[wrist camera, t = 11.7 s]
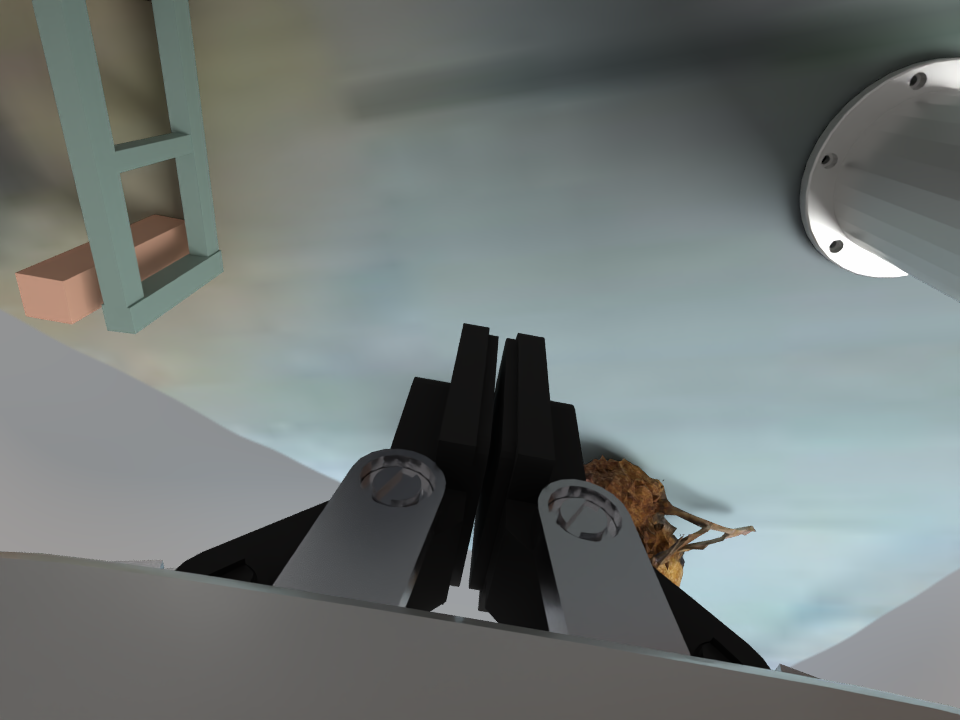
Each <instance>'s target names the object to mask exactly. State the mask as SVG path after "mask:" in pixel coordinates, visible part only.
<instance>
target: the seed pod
mask: <svg viewBox="0 0 960 720" xmlns="http://www.w3.org/2000/svg"><path fill="white" fill-rule="evenodd" d="M584 470H585V476H586V481H587V482H590V483H592V484H595V485H597V486H600V487H602V488H604V489H605V490H607V491H608V492H610V493H612V494H613V495H614V496H615V497H616V498H618V499H619V500H620V501H621V502H622V503H623V504H624V506H625V507H626V509H627V511H628V512H629V514H630V516H631V518H632V520H633V523H634V525H635V527H636V530H637V532H638V534H639V537H640V539H641V541H642V544H643V546H644V548H645V551H646V553H647V555H648V557H649V560H650V562H651V564H652V566H653V567H655V568H656V569H657V570H658V571H659V572H661V573H662V574H663V575H664V576H666V577H667V578H668V579H669V580H670V581H672V582H673V583H674V584H675V585H677V586H678V587H679V586H680V582H681V579H682V576H683V566H684V563H685V561H684V559H683V557H682V556H683V554H684V552H685V551H689V550H692V549H700V550H703V549H704V548H706V547H707V546H708V545H709V544H713V543H716V542H720V541H723V540H724V539H727V538H731V537H735V536H739V535H740V534H743V535H746V534H748V533H750V532H751V531H755V529H754V528H753V526H747V527H742V528H736V529H731V528H726V527H722V526H720V525H717V524H715V523H712V522H709V521H707V520H704V519H702V518H699V517H697V516H694V515H691V514H689V513H687V512H685V511H683V510H680V509H678V508H676V507H674V506H672V505H671V503H670V502H669V501H668V500H667V497H666V493H665V489H664V486H663V485H662V483H661V482H660V481H659V480H658V479H652V478H650V477H649V476H648V475H647V474H646V473H645V472H644V471H642V470H641V469H640V468H639V467H638V466H635V465H633V464H631V463H630V462H628V461H627V460H626V459H624V458H623V460H622V461H615V460H613V459H609V460H608V461H607V460H606V459H605V458H604V456H603V455H602V456H601V458H600V460H598V459H594V460H593V461H591V462H590V463H588V464H585V465H584ZM663 481H664V480H663ZM664 515H677V516H679V517H681V518H683V519H685V520H687V521H689V522H691V523H693V524H695V525H697V526H699V527H702V529H700V530H699V531H698V532H696V533H693V534H689V535H688V536H687V537H685V538H683V536H684V534H683V536H682V537H681V538H680V539H677V538H676V537H675V536H674V535H672V534H673V533H674V532H675V530H676V529H677V528H676V527H674V526H672V525H671V524H670V523H669V522H668V521H667V520H666V519H665V518H664ZM710 529H712V530H716V531H721V532H725V533H724V535H723V536H722V537H720V538H716V539H713V540H708V541H702V542H697V543H692V544H688V543H689V542H691V541H693V540H694V539H696V538H697V537H699V536H700V535H702V534H704V533H706V532H708V531H709V530H710ZM680 536H681V534H680ZM686 544H687V545H686Z"/></svg>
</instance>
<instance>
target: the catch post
mask: <svg viewBox="0 0 960 720" xmlns="http://www.w3.org/2000/svg"><path fill="white" fill-rule="evenodd" d="M130 228H131V233H132V238H133V243H134V248H135V253H136V258H137V263H138V268H139V273H140V279H141V281H143V280H145V279H146V278H148V277H150V276H151V275H153V274H155V273H157V272H158V271H160V270H162V269H163V268H165V267H167V266H169V265H170V264H172V263H174V262H175V261H177V260H179V259H181V258H182V257H184V256H186V255H187V254H189V246H188V240H187V233H186V226H185V220H182V219H176V218H171V217H166V216H160V215H155V214H154V215H152V216H149V217H147V218H145V219H142V220H140V221H138V222H135V223H133V224H130ZM15 274H16V278H17V282H18V286H19V290H20V294H21V298H22V302H23V306H24V310H25V314H26V316H28V317H34V318H40V319H45V320H51V321H57V322H62V323H68V324H74V323H75V322H77V321H79V320H80V319H82V318H84V317H85V316H87V315H89V314H90V313H92V312H94V311H96V310H97V309H99V308H101V307H102V304H103V303H104V302H103V298H102V294H101V289H100V285H99V281H98V277H97V273H96V268H95V264H94V260H93V256H92V252H91V247H90V243H89V242H88V243H85V244H83V245H80V246H78V247H76V248H73V249H71V250H69V251H66V252H64V253H61V254H59V255H57V256H54V257H52V258H50V259H47V260H45V261H42V262H40V263H38V264H35V265H33V266H30V267H28V268H26V269H23V270H21V271H19V272H16V273H15Z"/></svg>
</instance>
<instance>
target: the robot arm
mask: <svg viewBox="0 0 960 720" xmlns="http://www.w3.org/2000/svg"><path fill="white" fill-rule="evenodd" d="M911 78H912V82H911V83H910V79H911ZM909 83H910V84H909ZM825 156H826V160H825V161H824V162H823V163H822V159H823V158H824V157H825ZM800 210H801V219H802V222H803V225H804V228H805V231H806V234H807V236H808V237H809V239H810V240H811V242H812V244H813V245H814V247H815V248H816V249H817V250H818V251H819V252H820V253H821V254H822V255H823V256H824V257H825V258H827V259H828V260H829V261H831V262H833V263H834V264H836V265H837V266H839V267H840V268H842V269H845V270H847V271H850V272H852V273H854V274H857V275H862V276H868V277H873V278H895V277H901V276H907V275H911V276H912V277H914V278H916V279H918V280H920V281H921V282H923V283H925V284H927V285H929V286H931V287H932V288H934V289H936V290H938V291H940V292H941V293H943V294H945V295H947V296H949V297H951V298H952V299H954V300H956V301H958V302H960V58H938V59H933V60H928V61H924V62H919V63H915V64H912V65H909V66H907V67H904V68H902V69H899V70H897V71H894V72H892V73H890V74H888V75H886V76H885V77H883V78H881V79H880V80H878V81H876V82H875V83H873V84H871V85H870V86H868V87H867V88H866V89H864V90H863V91H862V92H861V93H859V94H858V95H857V96H856V97H854V98H853V99H852V100H851V101H849V102H848V103H847V104H846V105H845V107H844V108H843V109H842V110H841V111H840V112H839V113H838V114H837V115H836V116H835V117H834V118H833V119H832V121H831V122H830V123H829V125H828V126H827V128H826V129H825V130H824V132H823V133H822V135H821V136H820V138H819V139H818V141H817V143H816V145H815V147H814V149H813V151H812V153H811V155H810V157H809V159H808V161H807V165H806V168H805V171H804V175H803V178H802V182H801V191H800ZM832 242H833V243H832ZM831 243H832V244H831ZM830 244H831V245H830ZM829 245H830V246H829ZM498 339H499V336H493V335H489V328H488V327H482V326H477V325H471V324H466V323H464V324H463V329H462V333H461V338H460V343H459V347H458V352H457V357H456V361H455V366H454V371H453V375H452V380H451V383H448V382H442V381H437V380H431V379H425V378H420V377H415V378H414V380H413V383H412V386H411V389H410V392H409V395H408V398H407V401H406V404H405V407H404V410H403V413H402V416H401V419H400V422H399V425H398V428H397V431H396V434H395V437H394V440H393V443H392V446H391V449H383V450H379V451H375V452H371V453H370V454H368V455H366V456H364V457H362V458H360V459H359V460H358V461H357V462H356V463H355V464H354V465H353V466H352V468H351V469H350V471H349V472H348V474H347V475H346V477H345V478H344V480H343V481H342V483H341V484H340V486H339V487H338V489H337V490H336V492H335V493H334V495H333V496H332V498H331V499H330V500H329V501H326V502H324V503H322V504H319V505H317V506H314V507H312V508H310V509H307V510H304V511H302V512H299V513H297V514H295V515H292V516H290V517H287V518H285V519H282V520H280V521H277V522H275V523H272V524H270V525H268V526H265V527H263V528H260V529H258V530H255V531H253V532H250V533H248V534H246V535H243V536H241V537H238V538H236V539H233V540H231V541H228V542H226V543H224V544H221V545H219V546H216V547H214V548H211V549H209V550H206V551H204V552H202V553H200V554H198V555H196V556H194V557H192V558H190V559H189V560H187V561H185V562H184V563H183V564H181V565H180V566H179V567H178V568H167V569H164V565H163V560H147V561H145V560H144V561H103V560H94V559H85V558H77V557H68V556H60V555H52V554H43V553H23V552H0V720H960V709H959V708H956V707H952V706H949V705H945V704H940V703H935V702H931V701H926V700H921V699H917V698H912V697H907V696H903V695H898V694H893V693H889V692H884V691H880V690H875V689H870V688H865V687H860V686H855V685H850V684H845V683H838V682H833V681H828V680H822V679H819V678H816V677H814V676H811V675H809V674H806V673H803V672H800V671H798V670H795V669H793V668H790V667H787V666H785V665H782V664H779V666H778V667H777V668H776V670H771V669H770V668H769V666H768V665H767V663H766V662H765V661H764V659H763V658H762V657H761V656H760V655H759V654H758V653H757V652H756V651H755V650H754V649H753V648H752V647H751V646H750V645H749V644H748V643H746V642H745V641H744V640H743V639H741V638H740V637H739V636H738V635H737V634H735V633H734V632H733V631H732V630H730V629H729V628H728V627H727V626H726V625H724V624H723V623H722V622H721V621H719V620H718V619H717V618H716V617H715V616H713V615H712V614H711V613H710V612H708V611H707V610H706V609H705V608H703V607H702V606H701V605H700V604H699V603H697V602H696V601H695V600H694V599H692V598H691V597H690V596H689V595H688V594H686V593H685V592H684V591H683V590H681V589H680V588H679V587H678V586H677V585H675V584H674V583H673V582H672V581H670V580H669V579H668V578H667V577H666V576H664V575H663V574H662V573H661V572H659V571H658V570H657V569H656V568H655V567H653V566H652V564H651V562H650V560H649V557H648V555H647V553H646V551H645V548H644V546H643V544H642V541H641V539H640V537H639V534H638V532H637V530H636V527H635V525H634V523H633V520H632V518H631V516H630V514H629V512H628V511H627V509H626V507H625V506H624V504H623V503H622V502H621V501H620V500H619V499H618V498H616V497H615V496H614V495H613V494H612V493H610V492H608V491H607V490H605V489H604V488H602V487H600V486H597V485H595V484H592V483H590V482H587V481H586V476H585V470H584V464H583V457H582V451H581V444H580V438H579V432H578V425H577V419H576V413H575V408H574V406H573V405H571V404H566V403H560V402H554V401H550V394H549V382H548V371H547V360H546V349H545V339H544V338H543V337H538V336H532V335H527V334H521V333H518V334H517V337H516V340H515V339H510V338H507V339H506V342H505V346H504V351H503V355H502V360H501V365H500V369H499V374H498V379H497V383H496V388H495V377H496V364H497V351H498ZM494 390H495V393H494ZM475 515H476V516H475ZM474 519H475V527H474V537H473V547H472V557H471V568H470V578H469V589H475V590H480V594H479V606H478V610H479V611H484V612H489V613H490V614H491V615H492V616H493V617H494V619H495V620H496V621H497V622H498V623H494V622H489V621H483V620H477V619H471V618H464V617H459V616H453V615H447V614H441V613H435V612H430V611H432V610H433V609H435V608H436V607H438V606H440V605H441V604H442V605H443V604H444V602H446V599H447V595H448V590H449V585H451V586H458V587H459V586H460V582H461V577H462V573H463V568H464V564H465V559H466V555H467V551H468V546H469V542H470V537H471V533H472V528H473V524H474Z"/></svg>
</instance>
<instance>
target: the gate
mask: <svg viewBox="0 0 960 720" xmlns="http://www.w3.org/2000/svg"><path fill="white" fill-rule="evenodd" d="M32 3H33V8H34V12H35V16H36V20H37V24H38V29H39V33H40V37H41V41H42V46H43V50H44V54H45V58H46V62H47V67H48V71H49V75H50V79H51V83H52V88H53V92H54V96H55V100H56V104H57V109H58V113H59V117H60V121H61V125H62V130H63V134H64V138H65V142H66V146H67V151H68V155H69V159H70V163H71V167H72V172H73V176H74V180H75V184H76V189H77V193H78V197H79V201H80V205H81V210H82V214H83V218H84V222H85V226H86V231H87V235H88V239H89V243H90V247H91V252H92V256H93V260H94V264H95V268H96V273H97V277H98V281H99V285H100V289H101V294H102V298H103V302H104V303H103V304H102V309H103V314H104V318H105V322H106V326H107V330H108V331H115V332H123V333H131V334H136V333H138V332H139V331H140V330H142V329H143V328H145V327H146V326H147V325H149V324H150V323H152V322H153V321H154V320H156V319H157V318H159V317H160V316H161V315H163V314H164V313H166V312H167V311H168V310H170V309H171V308H173V307H174V306H176V305H177V304H178V303H180V302H181V301H183V300H184V299H185V298H187V297H188V296H190V295H191V294H192V293H194V292H195V291H197V290H198V289H199V288H201V287H202V286H204V285H205V284H206V283H208V282H209V281H211V280H212V279H214V278H215V277H216V276H218V275H219V274H221V273H222V272H223V263H222V255H221V250H219V248H218V239H217V231H216V223H215V215H214V207H213V199H212V191H211V183H210V175H209V166H208V158H207V150H206V142H205V134H204V126H203V118H202V110H201V102H200V93H199V85H198V77H197V69H196V61H195V53H194V45H193V37H192V29H191V20H190V12H189V4H188V0H152V6H153V13H154V20H155V26H156V33H157V40H158V46H159V53H160V60H161V66H162V73H163V80H164V86H165V93H166V100H167V106H168V113H169V120H170V126H171V133H170V134H165V135H160V136H155V137H151V138H146V139H141V140H136V141H131V142H126V143H122V144H117V145H114V143H113V137H112V132H111V127H110V122H109V117H108V112H107V107H106V102H105V97H104V92H103V87H102V82H101V77H100V72H99V67H98V62H97V57H96V52H95V47H94V42H93V37H92V32H91V27H90V22H89V17H88V12H87V7H86V1H85V0H32ZM172 158H175V160H176V166H177V173H178V180H179V186H180V193H181V200H182V206H183V213H184V220H185V226H186V233H187V240H188V246H189V254H187V255H186V256H184V257H182V258H181V259H179V260H177V261H175V262H174V263H172V264H170V265H169V266H167V267H165V268H163V269H162V270H160V271H158V272H157V273H155V274H153V275H151V276H150V277H148V278H146V279H145V280H143V281H141V279H140V273H139V268H138V263H137V258H136V253H135V248H134V243H133V238H132V233H131V228H130V223H129V218H128V213H127V208H126V203H125V198H124V193H123V188H122V183H121V178H120V173H122V172H125V171H129V170H132V169H136V168H139V167H143V166H147V165H150V164H154V163H157V162H161V161H164V160H168V159H172Z"/></svg>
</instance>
